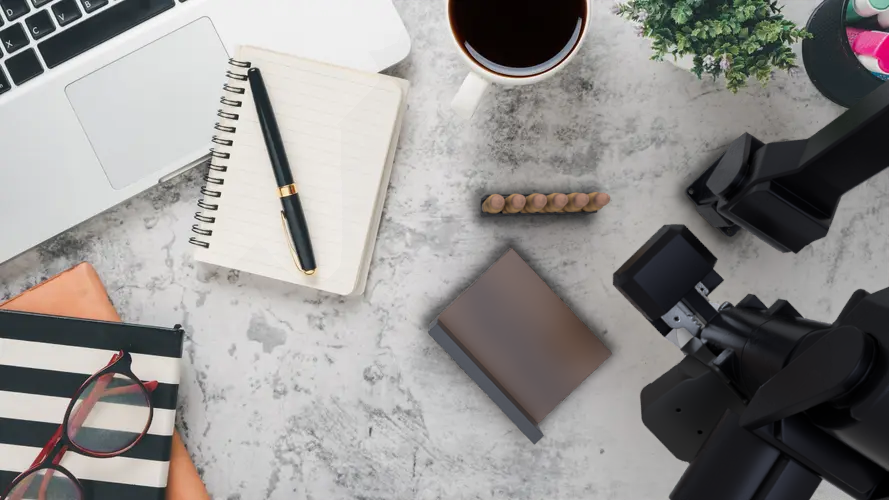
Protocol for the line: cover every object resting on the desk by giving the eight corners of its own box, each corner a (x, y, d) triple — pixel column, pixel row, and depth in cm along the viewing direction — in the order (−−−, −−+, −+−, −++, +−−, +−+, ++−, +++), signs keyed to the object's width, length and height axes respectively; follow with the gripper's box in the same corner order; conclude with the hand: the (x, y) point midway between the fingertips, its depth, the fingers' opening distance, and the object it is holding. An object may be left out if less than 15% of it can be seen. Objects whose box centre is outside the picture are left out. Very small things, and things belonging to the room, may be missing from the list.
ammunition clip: (588, 196, 65) (619, 186, 53) (588, 214, 65) (619, 209, 53) (480, 198, 65) (487, 188, 53) (481, 216, 65) (488, 211, 53)
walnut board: (509, 247, 65) (516, 248, 59) (606, 349, 65) (623, 361, 59) (429, 323, 65) (427, 332, 59) (526, 424, 65) (534, 444, 59)
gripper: (580, 345, 39) (542, 316, 54) (799, 571, 39) (698, 477, 54) (717, 214, 39) (639, 222, 54) (936, 441, 39) (795, 384, 54)
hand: (690, 329), depth 54 cm, fingers closed on milkshake, 5 cm apart
